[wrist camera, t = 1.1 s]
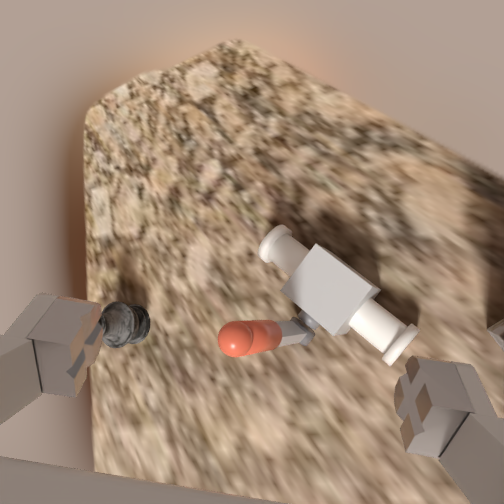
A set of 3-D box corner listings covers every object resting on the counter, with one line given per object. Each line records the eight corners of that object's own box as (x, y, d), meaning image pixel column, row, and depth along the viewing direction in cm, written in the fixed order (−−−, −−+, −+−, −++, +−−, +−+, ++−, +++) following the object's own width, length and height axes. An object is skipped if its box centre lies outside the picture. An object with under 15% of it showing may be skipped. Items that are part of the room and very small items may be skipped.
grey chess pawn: (154, 342, 57) (85, 348, 46) (119, 349, 59) (45, 357, 48) (148, 298, 58) (80, 294, 47) (114, 306, 60) (41, 305, 49)
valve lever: (321, 330, 46) (253, 340, 30) (307, 348, 47) (231, 368, 30) (300, 312, 48) (223, 312, 31) (286, 330, 48) (203, 339, 31)
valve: (426, 323, 44) (423, 325, 38) (380, 378, 45) (371, 387, 39) (294, 223, 51) (275, 213, 45) (257, 272, 52) (235, 268, 47)
